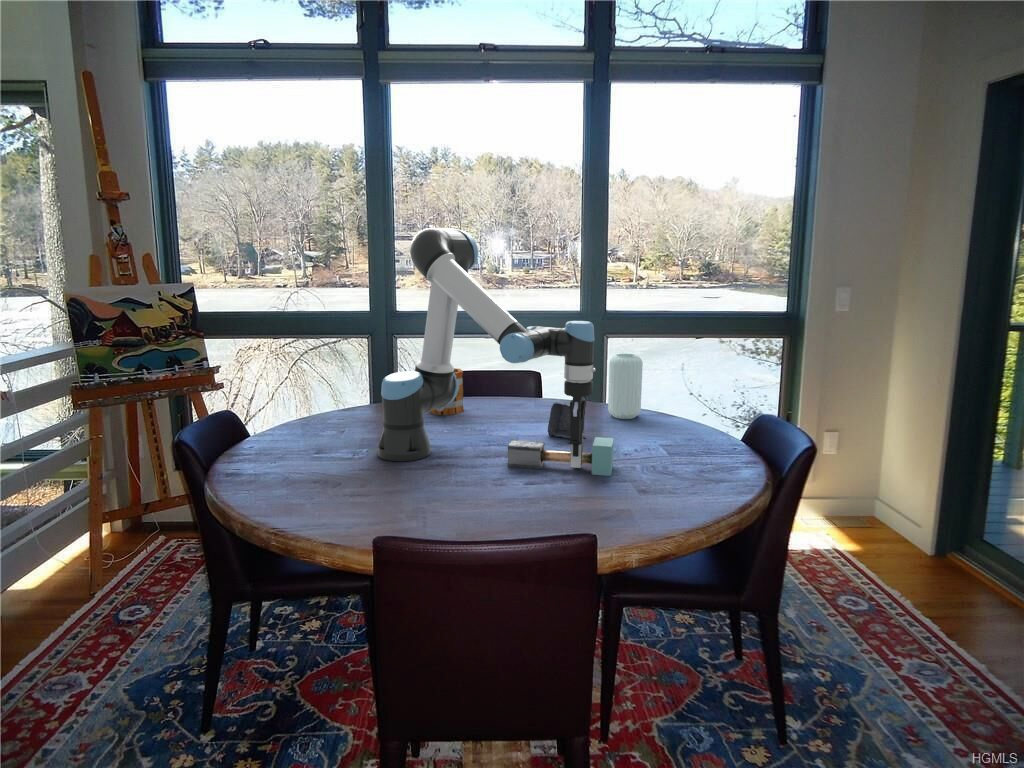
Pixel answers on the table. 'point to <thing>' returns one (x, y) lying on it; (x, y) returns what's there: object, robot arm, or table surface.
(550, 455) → the hammer
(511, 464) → the sleeve
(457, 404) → the mug
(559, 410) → the stone
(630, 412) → the vase
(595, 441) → the socket
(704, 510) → the table surface
